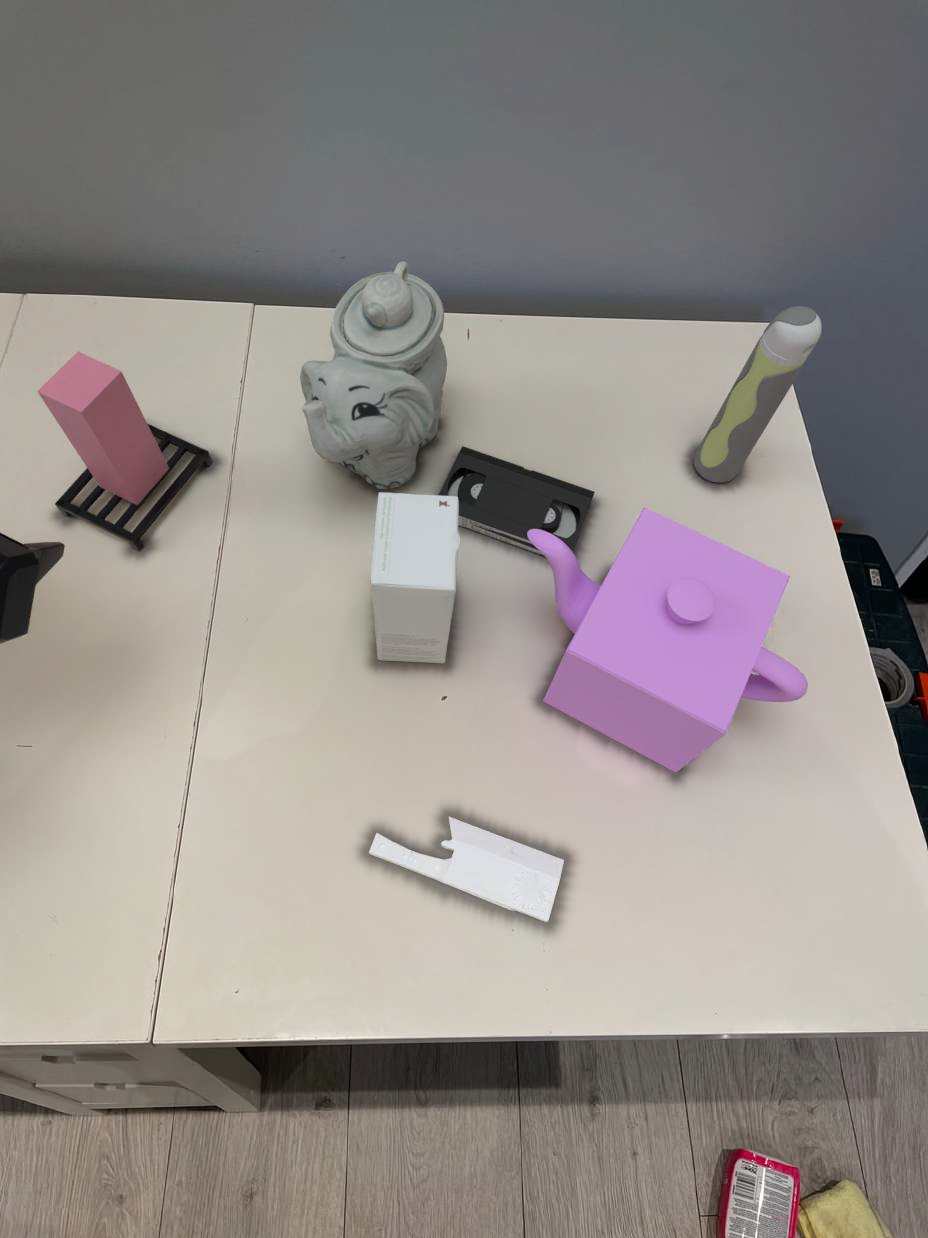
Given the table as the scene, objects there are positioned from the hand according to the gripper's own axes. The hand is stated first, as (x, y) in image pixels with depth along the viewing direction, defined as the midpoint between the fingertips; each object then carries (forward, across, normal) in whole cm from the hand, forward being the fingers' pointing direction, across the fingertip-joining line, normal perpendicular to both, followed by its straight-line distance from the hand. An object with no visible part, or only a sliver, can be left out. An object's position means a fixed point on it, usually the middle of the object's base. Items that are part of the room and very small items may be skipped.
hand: (12, 524), depth 55 cm
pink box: (+17, +4, -1) cm, 18 cm away
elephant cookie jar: (+29, -15, -10) cm, 34 cm away
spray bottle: (+40, -47, -21) cm, 65 cm away
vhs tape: (+30, -30, -10) cm, 44 cm away
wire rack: (+19, +4, 0) cm, 19 cm away
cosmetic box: (+18, -28, +1) cm, 33 cm away
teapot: (+22, -47, -3) cm, 52 cm away
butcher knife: (+7, -41, +13) cm, 43 cm away
